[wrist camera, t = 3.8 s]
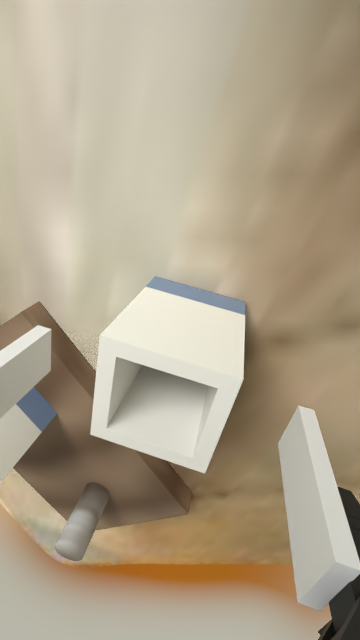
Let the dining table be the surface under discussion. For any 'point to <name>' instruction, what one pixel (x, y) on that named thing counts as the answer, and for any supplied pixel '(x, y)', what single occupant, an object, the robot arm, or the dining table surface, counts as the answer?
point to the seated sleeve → (22, 428)
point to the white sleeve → (170, 372)
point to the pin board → (87, 452)
